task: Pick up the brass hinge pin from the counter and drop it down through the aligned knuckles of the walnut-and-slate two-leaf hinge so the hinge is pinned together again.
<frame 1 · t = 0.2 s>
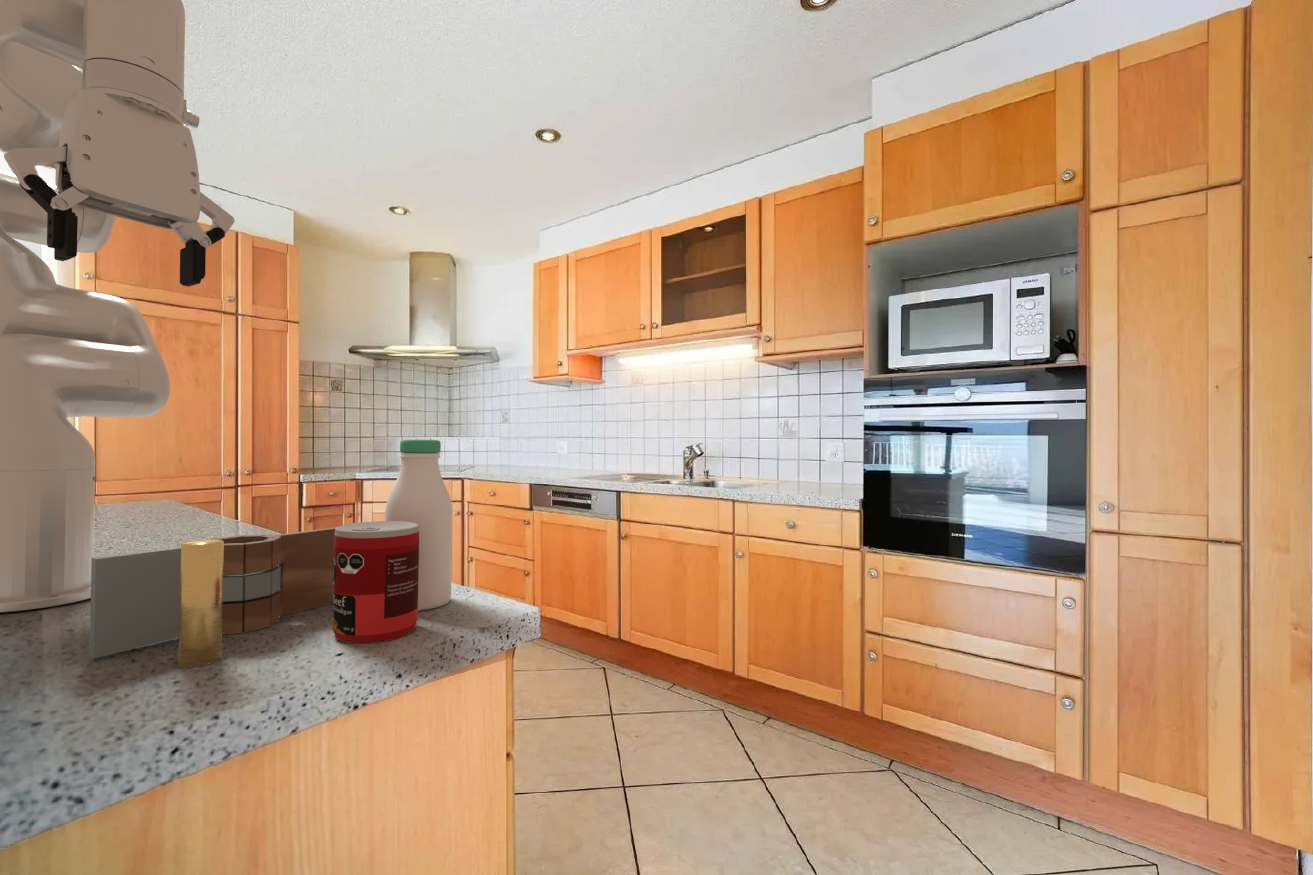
hand: (132, 272, 57), 36 cm above the counter, tool pointing down, fingers open, 9 cm apart
hinge leaf swing: (193, 589, 58), point 5 cm above the counter, hinge at 0.0°
hinge leaf fixed: (241, 624, 62), on the counter
hinge pin: (200, 660, 52), on the counter
canned food: (375, 633, 60), on the counter
milk bottle: (417, 605, 70), on the counter
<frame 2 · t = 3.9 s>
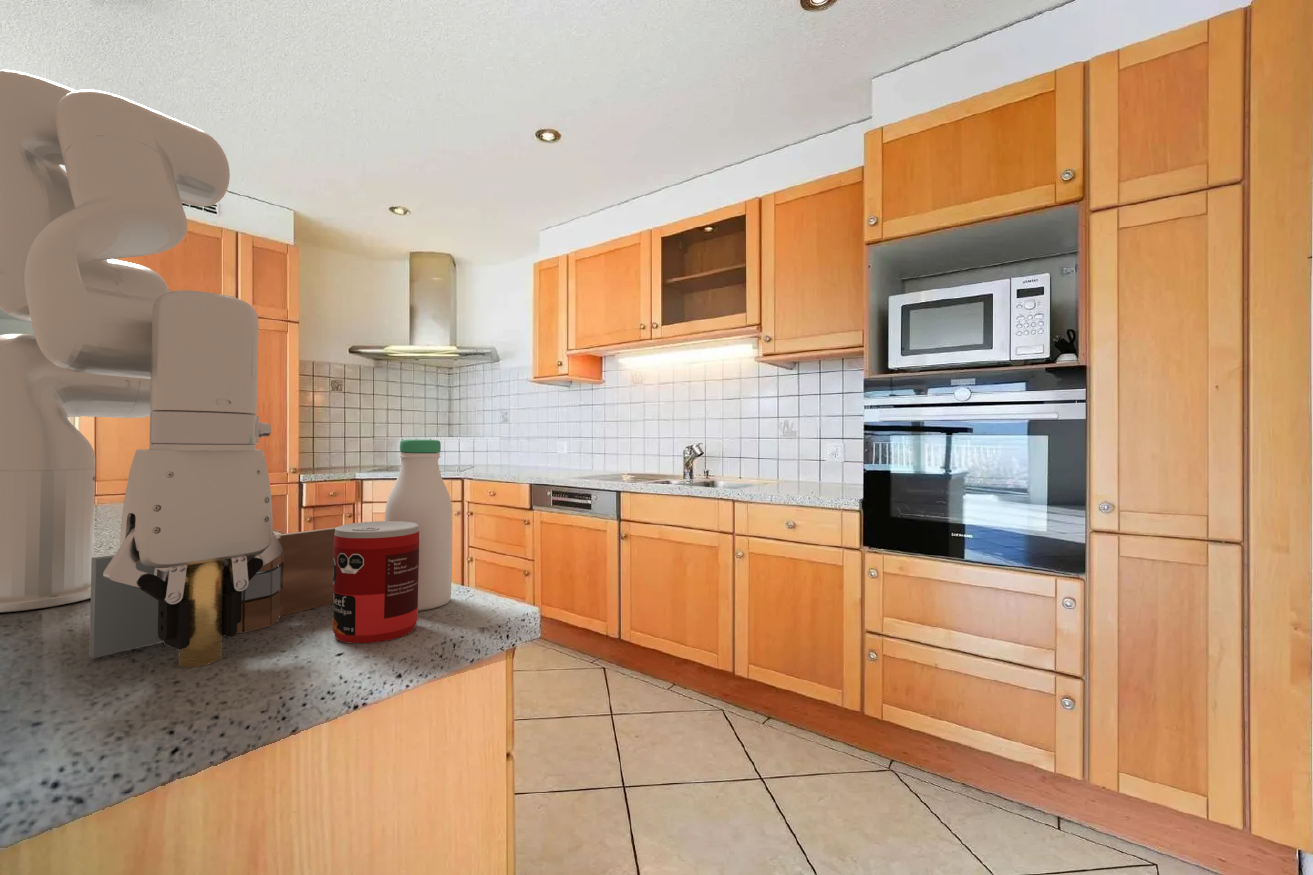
hand: (200, 637, 52), 2 cm above the counter, tool pointing down, fingers closed on hinge pin, 3 cm apart
hinge pin: (200, 660, 52), on the counter, touching gripper
everything else where it was.
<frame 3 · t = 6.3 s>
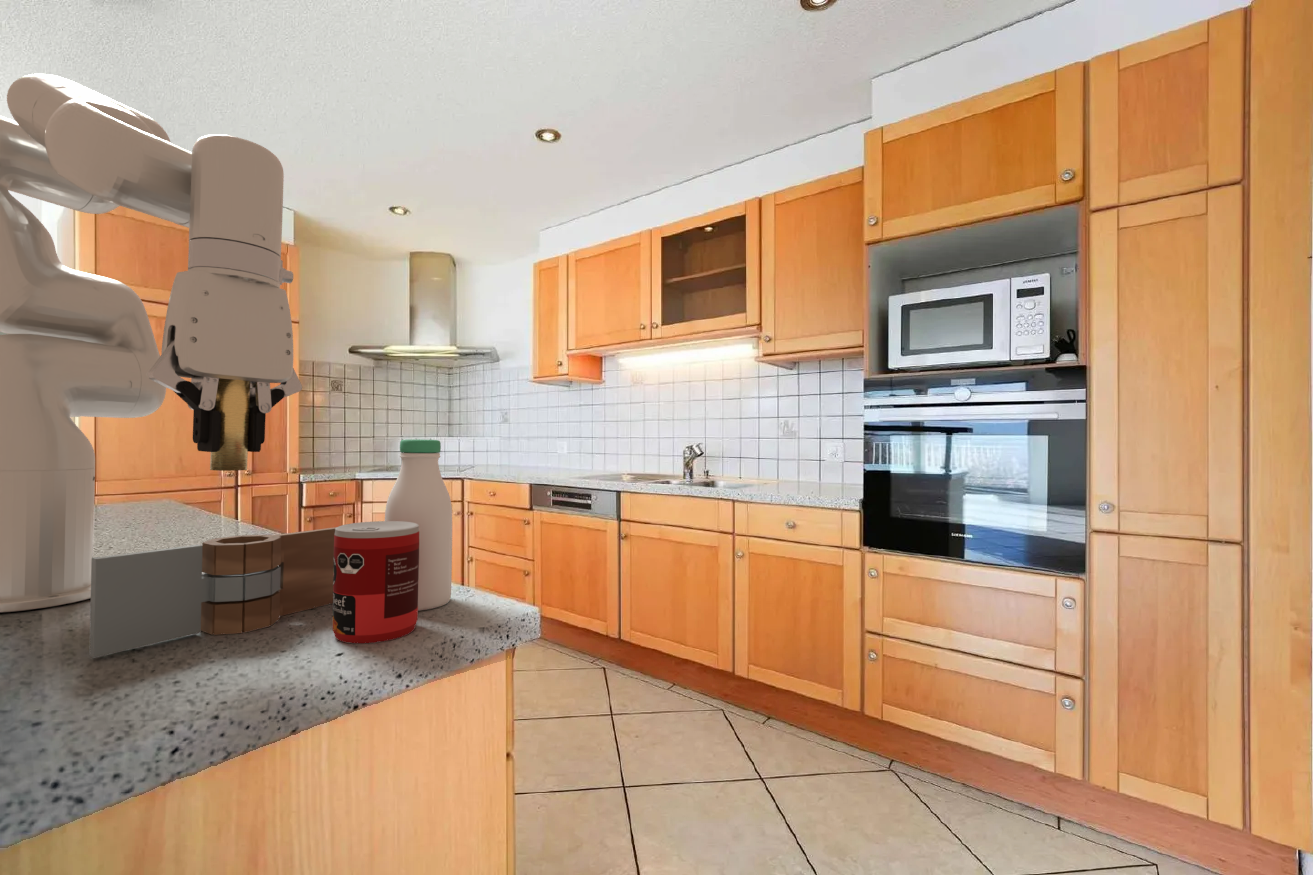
hand: (229, 449, 58), 19 cm above the counter, tool pointing down, fingers closed on hinge pin, 3 cm apart
hinge pin: (228, 469, 58), point 17 cm above the counter, touching gripper
everything else where it was.
when the fingers open (9 cm above the counter, at t = 8.8 s): hinge pin drops 7 cm, resting in hinge leaf fixed.
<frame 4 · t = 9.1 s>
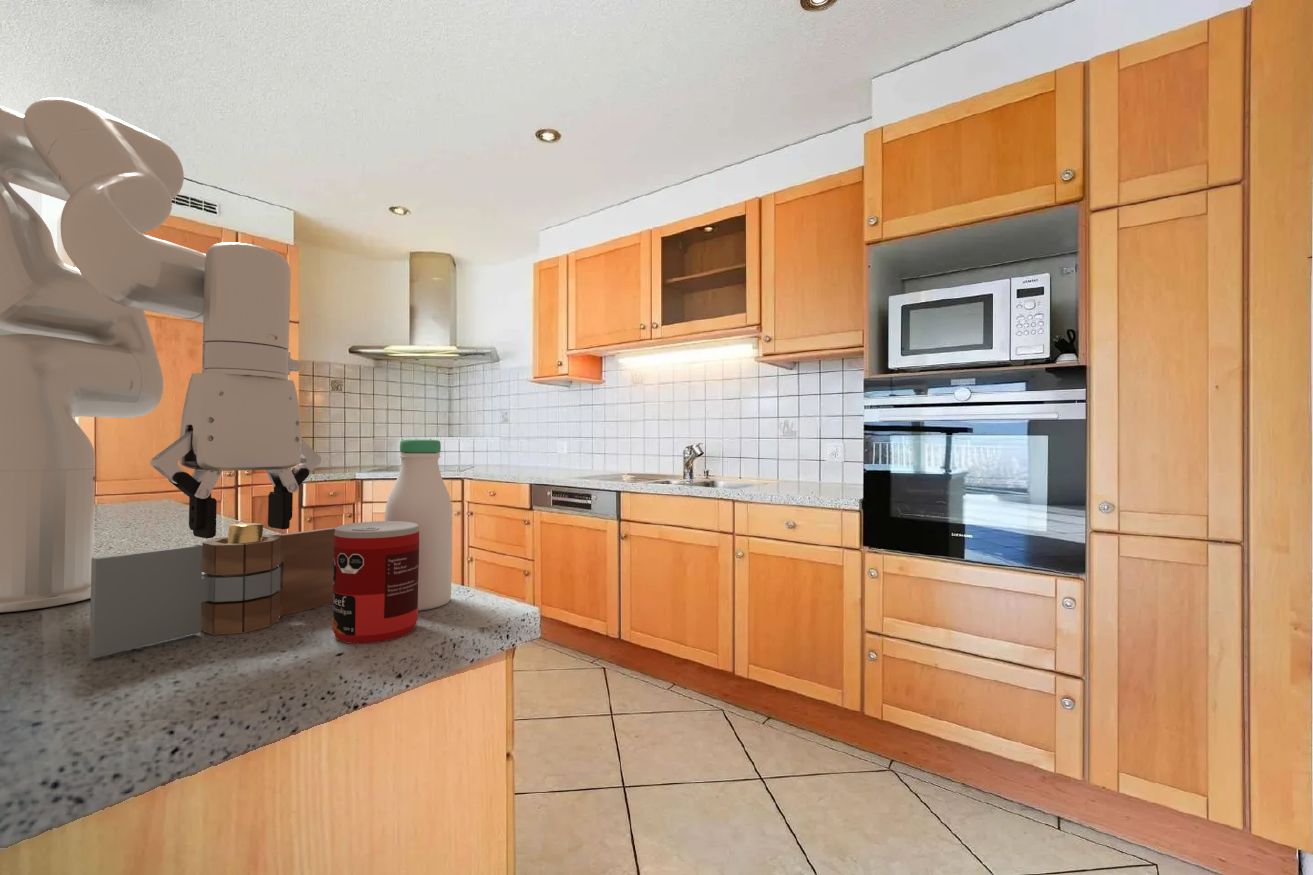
hand: (243, 530, 62), 10 cm above the counter, tool pointing down, fingers open, 6 cm apart
hinge pin: (239, 624, 61), resting in hinge leaf fixed
everything else where it was.
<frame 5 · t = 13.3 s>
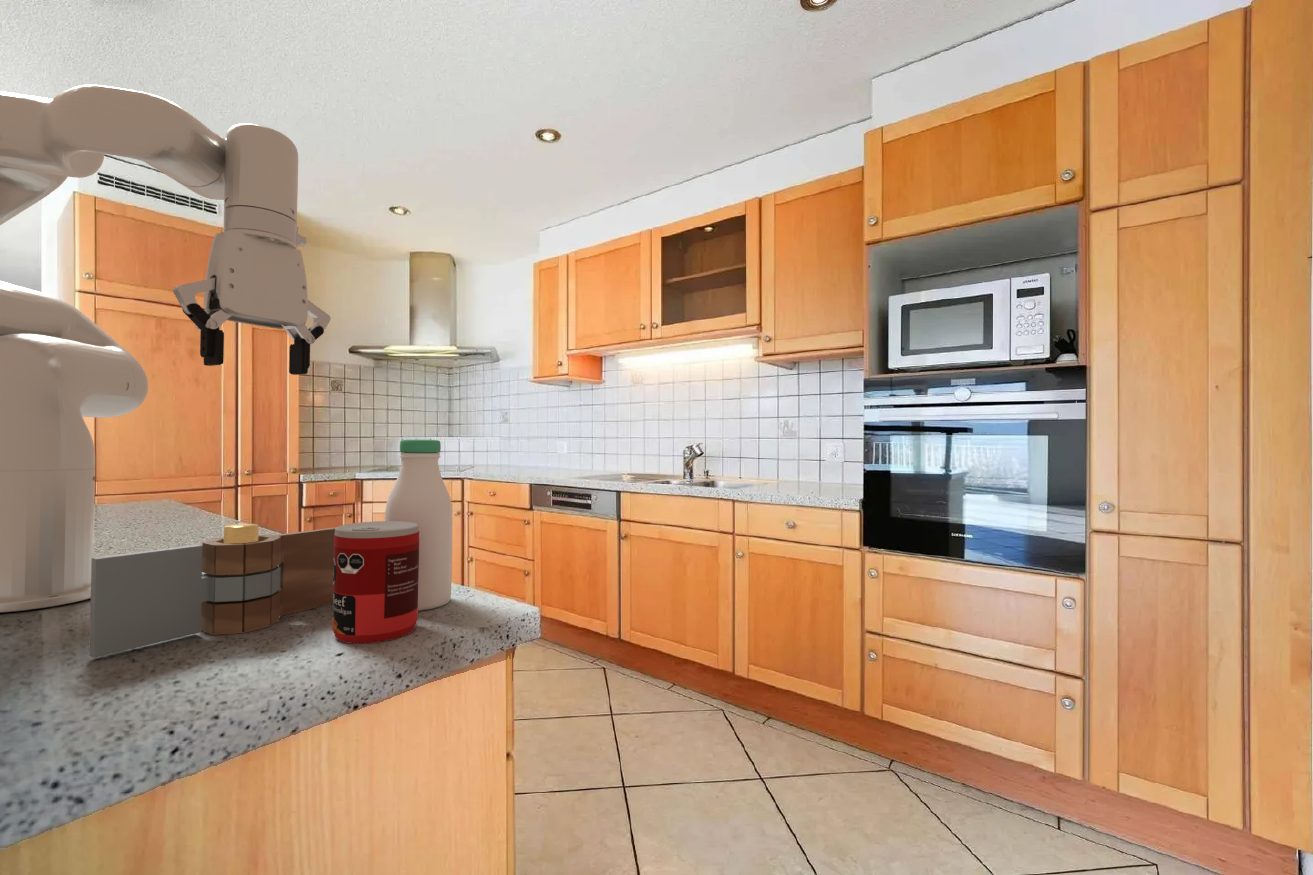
hand: (258, 369, 72), 28 cm above the counter, tool pointing down, fingers open, 9 cm apart
nothing on the counter moved.
at the end: hinge pin 0.2 cm off-centre on the hinge leaf fixed, point 0.0 cm above the hinge leaf fixed's base; hinge pin tilted 0°; the gripper is holding nothing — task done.
